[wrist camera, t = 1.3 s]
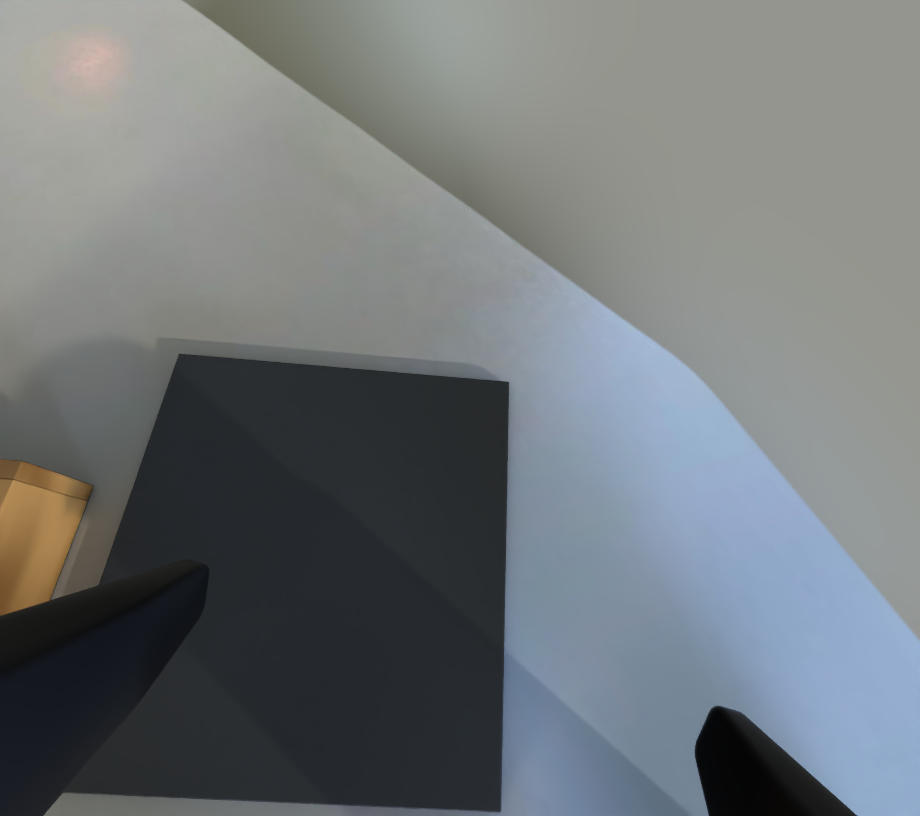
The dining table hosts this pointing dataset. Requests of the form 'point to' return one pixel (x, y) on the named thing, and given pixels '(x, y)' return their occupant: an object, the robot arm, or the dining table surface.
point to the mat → (322, 589)
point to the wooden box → (35, 530)
